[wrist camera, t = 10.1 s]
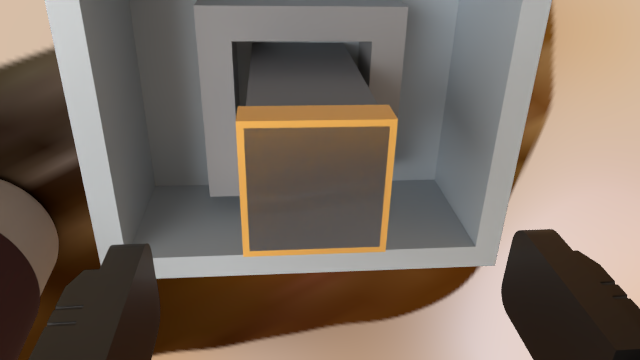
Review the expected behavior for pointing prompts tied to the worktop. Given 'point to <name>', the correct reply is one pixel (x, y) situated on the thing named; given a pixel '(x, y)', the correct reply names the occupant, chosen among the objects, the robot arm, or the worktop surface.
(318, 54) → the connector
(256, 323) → the worktop surface
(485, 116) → the walled box
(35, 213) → the coffee cup
